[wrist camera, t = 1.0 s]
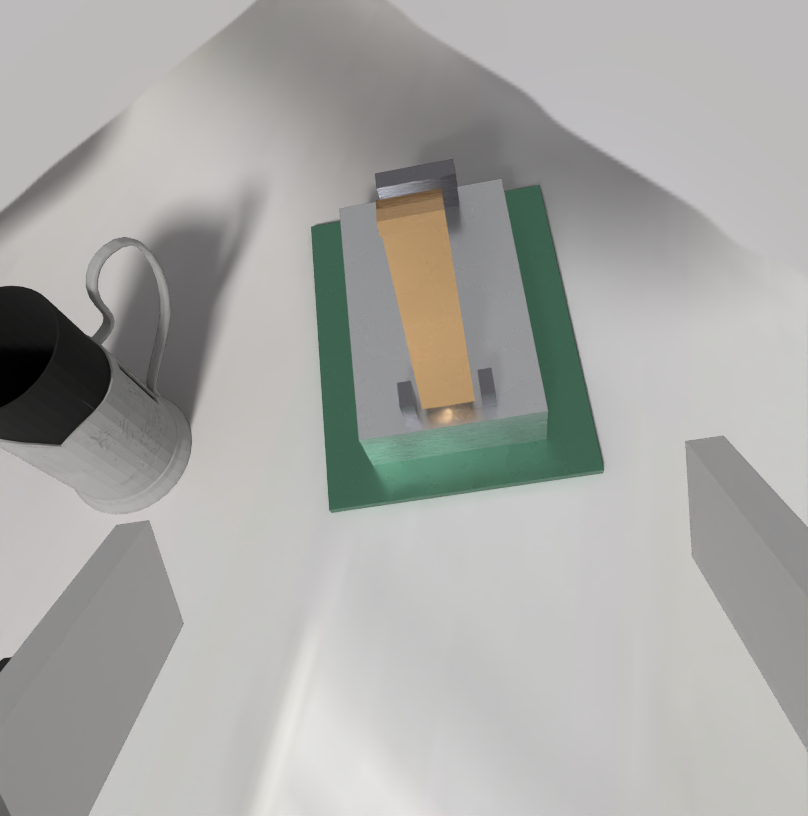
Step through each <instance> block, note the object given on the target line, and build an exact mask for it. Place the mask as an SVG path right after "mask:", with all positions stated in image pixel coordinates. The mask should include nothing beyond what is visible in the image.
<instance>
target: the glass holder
mask: <svg viewBox="0 0 808 816" xmlns="http://www.w3.org/2000/svg"><path fill="white" fill-rule="evenodd" d="M130 245H132V246H135V247H137V248H138V249H139V250H140V251H142V252H143V254H144V255H145V257H146V259H147V260H148V262H149V263H150V265H151V266H152V269H153V272H154V275H155V277H156V280H157V285H158V291H159V298H160V316H159V324H158V330H157V335H156V340H155V345H154V349H153V352H152V357H151V361H150V365H149V370H148V376H147V387H146V386H145V385H144V384H143V383H142V382H141V381H139V380H138V379H137V378H136V377H135V376H134V375H133V374H132V373H131V372H130V371H129V370H128V369H127V368H126V367H124V366H123V365H122V364H121V363H120V362H119V361H118V360H117V359H116V358H115V357H114V356H113V355H112V354H111V353H109V352H108V351H107V350H106V349H105V348H104V347H103V346H102V345H101V344H102V343H103V342H104V341H105V340H106V339H107V337H108V336H109V334H110V333H111V331H112V329H113V327H114V317H113V315H112V313H111V312H110V310H109V309H108V308H107V306H106V305H105V304H104V303H103V301H102V299H101V298H100V294H99V291H98V278H99V274H100V270H101V268H102V266H103V264H104V263H105V261H106V260H107V259H108V258H109V257H110V256H111V255H112V254H113V253H114V252H116V251H118V250H119V249H121V248H123V247H127V246H130ZM86 288H87V291H88V295H89V297H90V299H91V300H92V302H93V303H94V305H95V306H96V307H97V308H98V309H99V310H100V312H101V313H102V314H103V317H104V318H103V323H102V325H101V327H100V328H99V330H98V331H97V332H96V333H95V334H94V335H93V337H92V338H91V337H89V336H87V335H85V334H84V333H83V332H82V331H81V330H80V329H79V328H78V327H77V326H76V325H75V324H74V323H72V322H71V321H70V320H69V319H68V318H67V317H66V316H65V315H64V314H63V313H62V312H61V311H59V310H58V309H57V308H56V307H55V306H54V305H53V304H52V303H51V302H50V301H49V300H48V299H46V298H45V297H44V296H43V295H41V294H40V293H38V292H36V291H34V290H32V289H29V288H25V287H20V286H4V287H0V448H2V449H4V450H6V451H8V452H9V453H11V454H13V455H15V456H16V457H18V458H20V459H22V460H24V461H25V462H27V463H29V464H31V465H32V466H34V467H36V468H38V469H40V470H41V471H43V472H45V473H47V474H48V475H50V476H52V477H54V478H56V479H57V480H59V481H61V482H63V483H64V484H66V485H68V486H70V487H72V488H73V489H75V491H76V492H77V494H78V495H79V497H80V498H81V499H82V500H83V501H84V502H85V503H86V504H88V505H89V506H91V507H93V508H94V509H96V510H99V511H102V512H105V513H111V514H127V513H131V512H136V511H139V510H142V509H144V508H146V507H149V506H150V505H152V504H154V503H155V502H157V501H159V500H160V499H161V498H162V497H164V496H165V495H166V494H167V493H168V492H169V491H170V490H171V489H172V488H173V487H174V486H175V485H176V483H177V482H178V480H179V479H180V477H181V476H182V474H183V472H184V470H185V468H186V466H187V463H188V460H189V456H190V452H191V443H192V442H191V431H190V428H189V424H188V422H187V420H186V418H185V416H184V414H183V413H182V412H181V410H180V409H179V408H178V407H177V406H176V405H175V404H173V403H172V402H171V401H169V400H167V399H165V398H163V397H161V395H160V393H159V392H158V391H157V388H156V385H157V379H158V374H159V369H160V365H161V361H162V357H163V353H164V349H165V345H166V339H167V334H168V330H169V325H170V318H171V303H170V294H169V288H168V283H167V280H166V277H165V275H164V272H163V269H162V267H161V265H160V264H159V262H158V261H157V259H156V258H155V256H154V254H153V253H152V252H151V251H150V250H149V249H148V248H147V247H146V246H145V245H144V244H143V243H141V242H140V241H138V240H135V239H131V238H127V237H122V238H118V239H113V240H112V241H110V242H109V243H107V244H105V245H104V246H103V247H102V248H101V249H100V250H99V251H98V252H97V253H95V255H94V256H93V258H92V260H91V262H90V263H89V266H88V270H87V273H86Z"/></svg>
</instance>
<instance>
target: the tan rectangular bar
mask: <svg viewBox="0 0 808 816" xmlns="http://www.w3.org/2000/svg"><path fill="white" fill-rule="evenodd" d="M376 222H377V226H378V230H379V235H380V237H382V238H383V242H384V246H385V250H386V255H387V259H388V263H389V268H390V272H391V276H392V281H393V285H394V289H395V294H396V298H397V302H398V306H399V311H400V315H401V319H402V324H403V328H404V332H405V337H406V341H407V345H408V350H409V354H410V358H411V362H412V367H413V371H414V375H415V380H416V384H417V388H418V393H419V397H420V401H421V406H422V409H431V408H437V407H443V406H450V405H456V404H462V403H469V402H473V401H475V398H474V392H473V386H472V379H471V373H470V367H469V360H468V354H467V348H466V342H465V335H464V329H463V323H462V316H461V310H460V304H459V298H458V291H457V285H456V279H455V272H454V266H453V260H452V254H451V247H450V241H449V235H448V228H447V222H446V216H445V210H444V203H443V197H442V191H441V188H440V189H435V190H429V191H424V192H419V193H413V194H408V195H402V196H397V197H392V198H386V199H381V200H376Z"/></svg>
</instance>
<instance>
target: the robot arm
mask: <svg viewBox="0 0 808 816" xmlns="http://www.w3.org/2000/svg"><path fill="white" fill-rule="evenodd" d="M685 445H686V462H687V479H688V496H689V513H690V530H691V547H692V557H693V559H694V560H695V562H696V564H697V565H698V567H699V569H700V571H701V572H702V574H703V576H704V577H705V579H706V581H707V582H708V584H709V586H710V587H711V589H712V591H713V592H714V594H715V596H716V598H717V599H718V601H719V603H720V604H721V606H722V608H723V609H724V611H725V613H726V614H727V616H728V618H729V620H730V621H731V623H732V625H733V626H734V628H735V630H736V631H737V633H738V635H739V636H740V638H741V640H742V641H743V643H744V645H745V647H746V648H747V650H748V652H749V653H750V655H751V657H752V658H753V660H754V662H755V663H756V665H757V667H758V669H759V670H760V672H761V674H762V675H763V677H764V679H765V680H766V682H767V684H768V685H769V687H770V689H771V691H772V692H773V694H774V696H775V697H776V699H777V701H778V702H779V704H780V706H781V707H782V709H783V711H784V712H785V714H786V716H787V718H788V719H789V721H790V723H791V724H792V726H793V728H794V729H795V731H796V733H797V734H798V736H799V738H800V740H801V741H802V743H803V745H804V746H805V748H806V750H807V751H808V527H807V526H806V525H805V524H804V523H803V522H802V521H801V519H800V518H799V517H798V516H797V515H796V514H795V513H794V512H793V511H792V510H791V509H790V507H789V506H788V505H787V504H786V503H785V502H784V501H783V500H782V499H781V498H780V497H779V496H778V494H777V493H776V492H775V491H774V490H773V489H772V488H771V487H770V486H769V485H768V484H767V482H766V481H765V480H764V479H763V478H762V477H761V476H760V475H759V474H758V473H757V472H756V470H755V469H754V468H753V467H752V466H751V465H750V464H749V463H748V462H747V461H746V460H745V458H744V457H743V456H742V455H741V454H740V453H739V452H738V451H737V450H736V449H735V448H734V447H733V445H732V444H731V443H730V442H729V441H728V440H727V439H726V438H725V437H724V436H717V437H710V438H704V439H697V440H690V441H685ZM183 624H184V623H183V620H182V617H181V614H180V611H179V608H178V605H177V602H176V599H175V596H174V593H173V590H172V587H171V584H170V581H169V578H168V575H167V572H166V569H165V566H164V563H163V560H162V557H161V554H160V551H159V548H158V545H157V542H156V539H155V536H154V533H153V530H152V527H151V524H150V521H149V520H148V521H141V522H134V523H127V524H121V525H116V526H115V527H114V529H113V530H112V531H111V532H110V534H109V535H108V536H107V537H106V539H105V540H104V541H103V543H102V544H101V545H100V546H99V548H98V549H97V550H96V551H95V553H94V554H93V555H92V557H91V558H90V559H89V560H88V562H87V563H86V564H85V565H84V567H83V568H82V569H81V571H80V572H79V573H78V574H77V576H76V577H75V578H74V579H73V581H72V582H71V583H70V584H69V586H68V587H67V588H66V590H65V591H64V592H63V593H62V595H61V596H60V597H59V598H58V600H57V601H56V602H55V604H54V605H53V606H52V607H51V609H50V610H49V611H48V612H47V614H46V615H45V616H44V617H43V619H42V620H41V621H40V623H39V624H38V625H37V626H36V628H35V629H34V630H33V631H32V633H31V634H30V635H29V637H28V638H27V639H26V640H25V642H24V643H23V644H22V645H21V647H20V648H19V649H18V651H17V652H16V653H15V654H14V656H13V657H10V658H4V659H2V660H1V661H0V816H88V815H89V813H90V811H91V809H92V807H93V805H94V803H95V801H96V799H97V797H98V795H99V793H100V791H101V789H102V787H103V785H104V783H105V781H106V779H107V777H108V775H109V773H110V771H111V769H112V767H113V765H114V763H115V761H116V759H117V757H118V755H119V753H120V751H121V749H122V747H123V745H124V743H125V741H126V739H127V737H128V735H129V733H130V731H131V729H132V727H133V725H134V723H135V721H136V719H137V717H138V715H139V713H140V711H141V709H142V707H143V705H144V703H145V701H146V699H147V697H148V695H149V693H150V691H151V689H152V687H153V685H154V683H155V681H156V679H157V677H158V675H159V673H160V671H161V669H162V667H163V665H164V663H165V661H166V659H167V657H168V655H169V653H170V650H171V648H172V646H173V644H174V642H175V640H176V638H177V636H178V634H179V632H180V630H181V628H182V626H183Z"/></svg>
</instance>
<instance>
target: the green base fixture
mask: <svg viewBox="0 0 808 816" xmlns="http://www.w3.org/2000/svg"><path fill="white" fill-rule="evenodd" d="M375 178H376V187H377V191H378V195H379V199H380V200H381V199H386V198H392V197H397V196H402V195H408V194H413V193H419V192H424V191H429V190H435V189H440V188H441V191H442V197H443V203H444V210H445V216H446V222H447V228H448V235H449V241H450V247H451V254H452V260H453V266H454V272H455V279H456V285H457V291H458V298H459V304H460V310H461V316H462V323H463V329H464V335H465V342H466V348H467V354H468V360H469V367H470V373H471V379H472V386H473V392H474V398H475V401H473V402H469V403H462V404H456V405H450V406H443V407H437V408H431V409H422V406H421V401H420V397H419V393H418V388H417V384H416V380H415V375H414V371H413V367H412V362H411V358H410V354H409V350H408V345H407V341H406V337H405V332H404V328H403V324H402V319H401V315H400V311H399V306H398V302H397V298H396V294H395V289H394V285H393V281H392V276H391V272H390V268H389V263H388V259H387V255H386V250H385V246H384V242H383V238H382V237H380V235H379V230H378V226H377V222H376V202H372V203H366V204H361V205H356V206H350V207H345V208H339V211H340V222H334V223H329V224H323V225H318V226H312V227H311V232H312V248H313V263H314V279H315V294H316V310H317V325H318V341H319V357H320V372H321V388H322V403H323V419H324V434H325V450H326V465H327V481H328V496H329V510H330V511H331V512H339V511H346V510H353V509H360V508H367V507H374V506H380V505H387V504H394V503H401V502H408V501H415V500H421V499H428V498H435V497H442V496H449V495H456V494H463V493H469V492H476V491H483V490H490V489H497V488H504V487H511V486H517V485H524V484H531V483H538V482H545V481H552V480H558V479H565V478H572V477H579V476H586V475H593V474H600V473H603V471H604V468H603V464H602V460H601V455H600V451H599V446H598V442H597V437H596V433H595V429H594V424H593V420H592V415H591V411H590V406H589V402H588V398H587V393H586V389H585V384H584V380H583V376H582V371H581V367H580V362H579V358H578V353H577V349H576V345H575V340H574V336H573V331H572V327H571V322H570V318H569V314H568V309H567V305H566V300H565V296H564V292H563V287H562V283H561V278H560V274H559V269H558V265H557V261H556V256H555V252H554V247H553V243H552V238H551V234H550V230H549V225H548V221H547V216H546V212H545V208H544V203H543V199H542V194H541V190H540V185H537V186H531V187H526V188H520V189H515V190H510V191H504V189H503V184H502V179H497V180H491V181H486V182H480V183H475V184H470V185H464V186H459V187H457V181H456V174H455V168H454V162H453V159H450V160H445V161H440V162H434V163H429V164H424V165H418V166H413V167H408V168H402V169H397V170H392V171H386V172H381V173H376V174H375Z"/></svg>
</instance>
